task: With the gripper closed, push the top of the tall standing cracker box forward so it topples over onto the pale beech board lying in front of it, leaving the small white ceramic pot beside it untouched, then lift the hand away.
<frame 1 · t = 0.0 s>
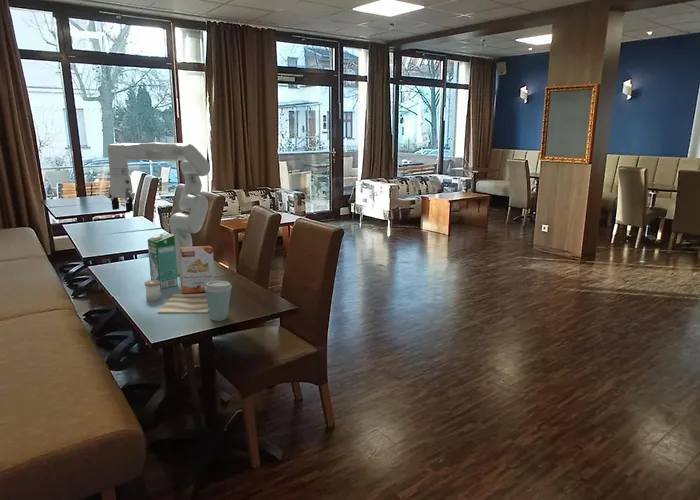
hand: (122, 210, 222), 37 cm above the table, tool pointing down, fingers open, 9 cm apart
cracker box: (197, 291, 228), on the table
milk carton: (164, 285, 237), on the table
disposable coffee cup: (219, 318, 197), on the table
ceramic pot: (153, 299, 218), on the table
beech board: (189, 303, 213), on the table
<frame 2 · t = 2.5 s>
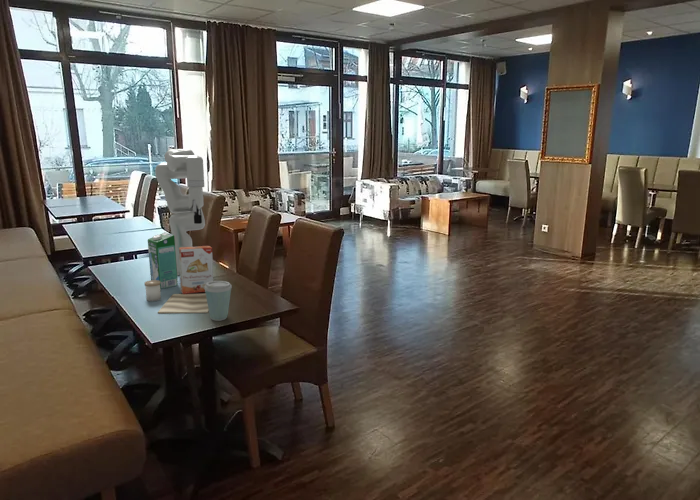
hand: (198, 223, 229), 31 cm above the table, tool pointing down, fingers closed
cracker box: (197, 291, 228), on the table, touching beech board
everything else where it was.
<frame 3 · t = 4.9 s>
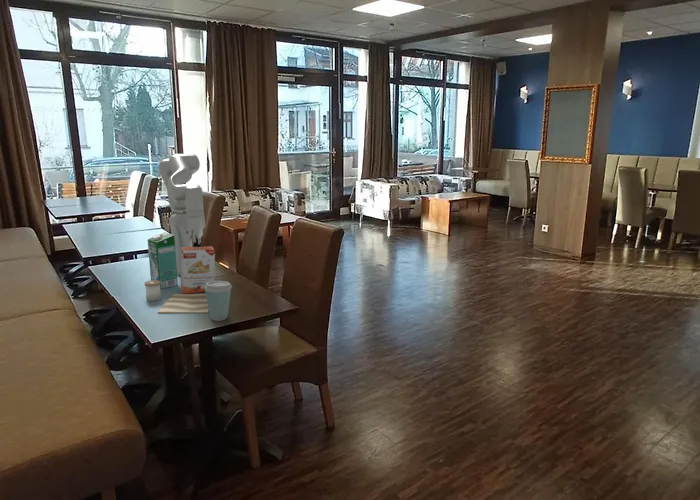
hand: (197, 252, 227), 18 cm above the table, tool pointing down, fingers closed
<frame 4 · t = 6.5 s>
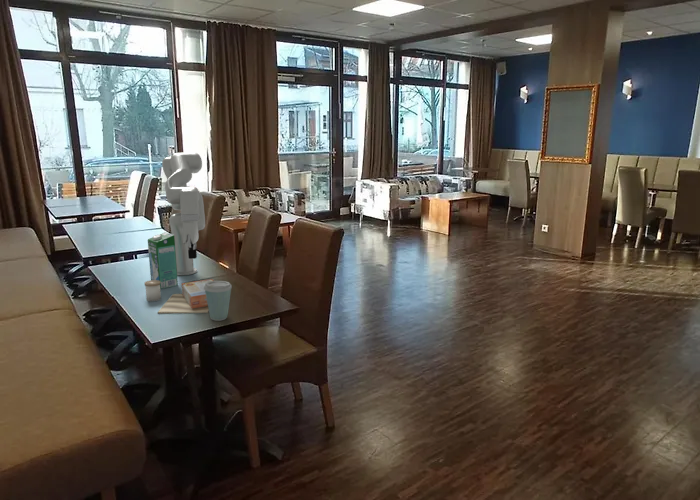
hand: (192, 258, 219), 18 cm above the table, tool pointing down, fingers closed
cracker box: (197, 286, 225), point 3 cm above the table, touching beech board
everything else where it was.
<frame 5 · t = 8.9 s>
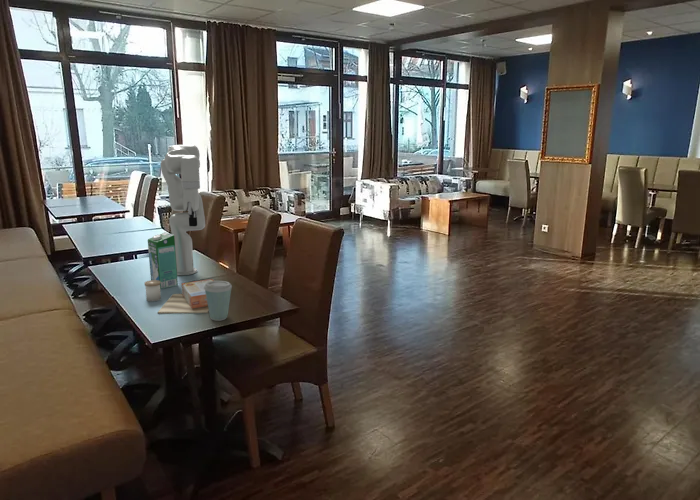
hand: (193, 225, 221), 31 cm above the table, tool pointing down, fingers closed
nothing on the table moved.
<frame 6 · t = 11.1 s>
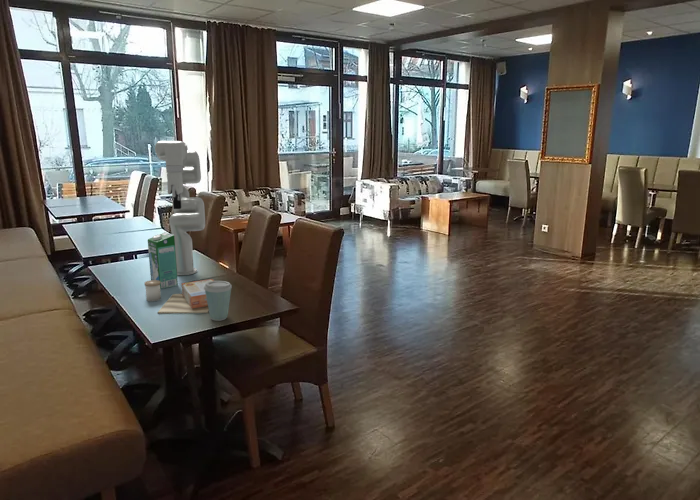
hand: (177, 208, 231), 37 cm above the table, tool pointing down, fingers closed
nothing on the table moved.
at the end: cracker box tilted 89°; cracker box inside the target area (5.1 cm from its centre), point 3.4 cm above the table; cracker box touching beech board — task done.
